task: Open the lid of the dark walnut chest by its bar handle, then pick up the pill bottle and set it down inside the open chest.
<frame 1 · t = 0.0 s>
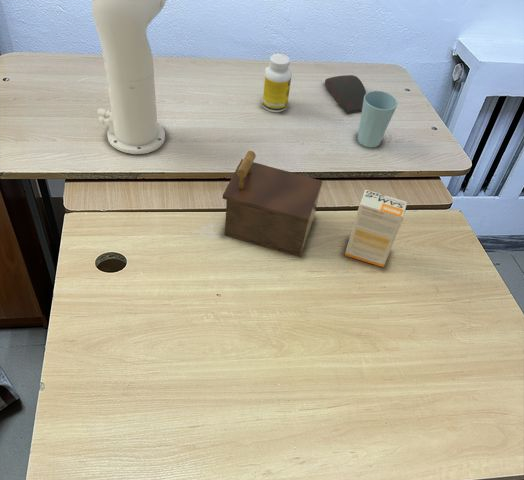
chest: (270, 226, 108), on the table
pill bottle: (273, 106, 133), on the table
supplement box: (365, 254, 107), on the table
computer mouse: (345, 98, 138), on the table
cup: (368, 141, 129), on the table
lid: (275, 179, 99), point 11 cm above the table, hinge at 0.0°
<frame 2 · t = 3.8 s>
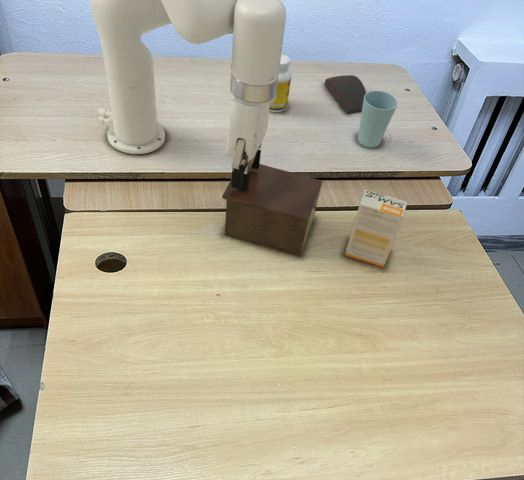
hand: (245, 176, 100), 10 cm above the table, tool pointing down, fingers closed on lid, 6 cm apart
lid: (275, 179, 99), point 11 cm above the table, hinge at 0.0°, touching gripper
everything else where it was.
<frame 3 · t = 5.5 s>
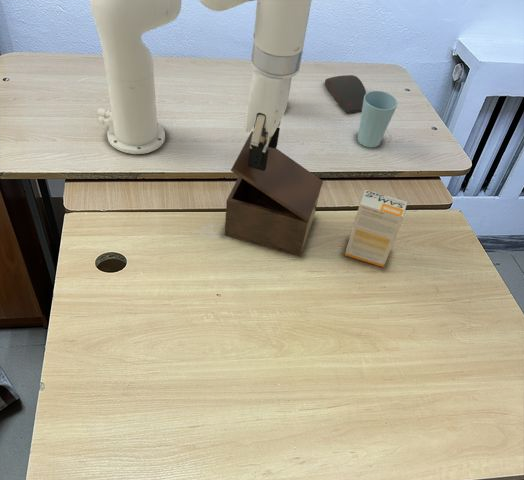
hand: (262, 155, 96), 16 cm above the table, tool pointing down, fingers closed on lid, 6 cm apart
lid: (285, 168, 96), point 15 cm above the table, hinge at 23.4°, touching gripper
everything else where it was.
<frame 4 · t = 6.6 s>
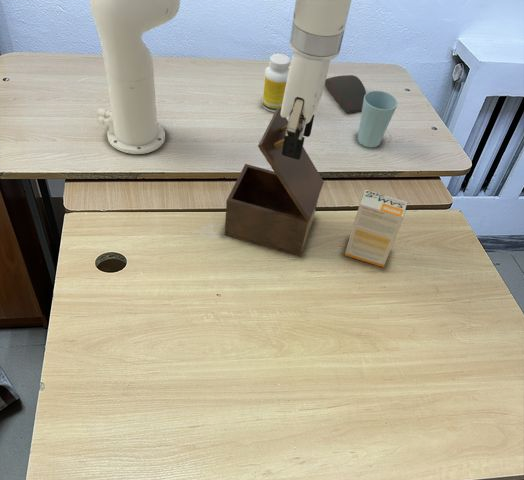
hand: (296, 144, 92), 20 cm above the table, tool pointing down, fingers closed on lid, 6 cm apart
lid: (303, 161, 94), point 17 cm above the table, hinge at 50.0°, touching gripper
everything else where it was.
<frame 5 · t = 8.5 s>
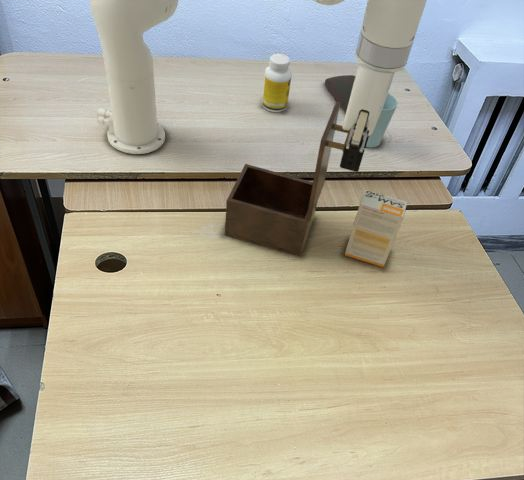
hand: (353, 156, 90), 20 cm above the table, tool pointing down, fingers closed on lid, 6 cm apart
lid: (334, 166, 93), point 18 cm above the table, hinge at 88.3°, touching gripper
everything else where it was.
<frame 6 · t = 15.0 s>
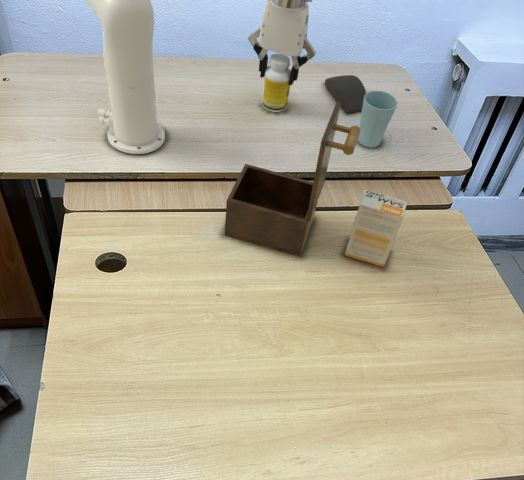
hand: (277, 78, 127), 7 cm above the table, tool pointing down, fingers closed on pill bottle, 6 cm apart
pill bottle: (273, 106, 133), on the table, touching gripper
lid: (335, 166, 93), point 18 cm above the table, hinge at 88.6°
everything else where it was.
when the fingers open (8 cm above the table, at t = 24.0 s): pill bottle stays where it is, resting on chest.
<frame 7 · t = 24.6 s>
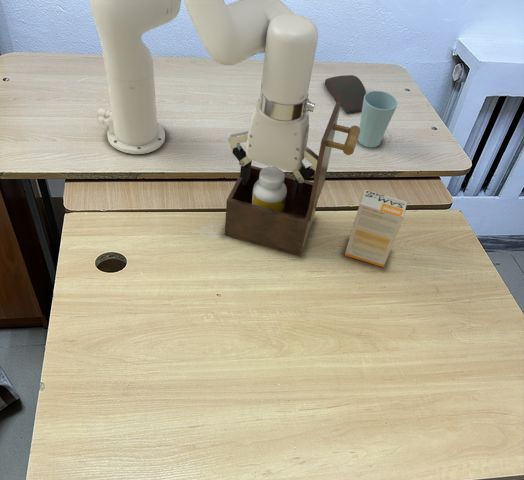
hand: (270, 187, 101), 9 cm above the table, tool pointing down, fingers open, 9 cm apart
pill bottle: (265, 223, 108), point 1 cm above the table, touching chest
everything else where it was.
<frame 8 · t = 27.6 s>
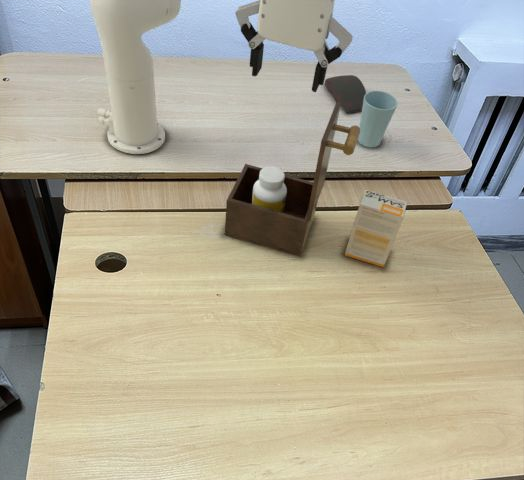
hand: (286, 79, 83), 30 cm above the table, tool pointing down, fingers open, 9 cm apart
nothing on the table moved.
at the end: lid at +89° (first picture: +0°); pill bottle inside the target area in the chest (1.1 cm from its centre), point 0.6 cm above the chest's base; pill bottle tilted 0° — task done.
